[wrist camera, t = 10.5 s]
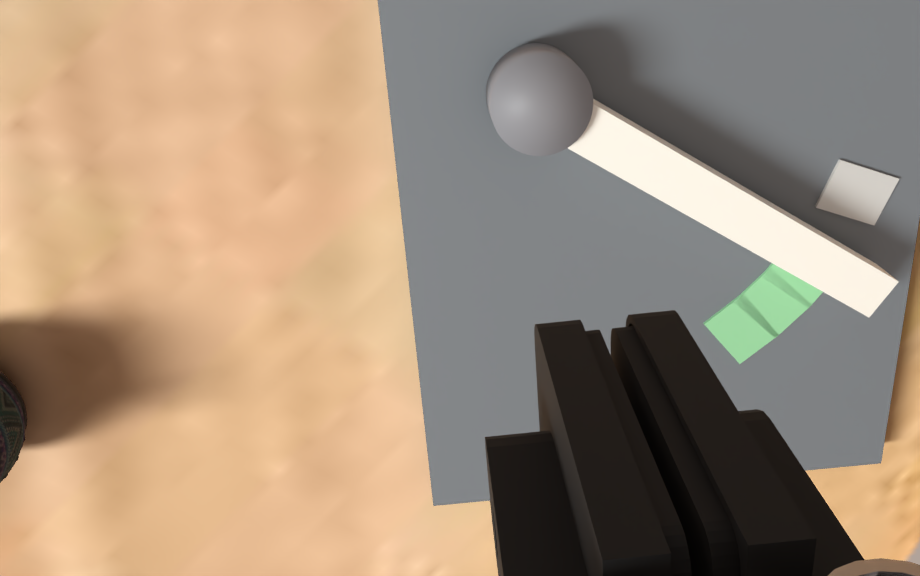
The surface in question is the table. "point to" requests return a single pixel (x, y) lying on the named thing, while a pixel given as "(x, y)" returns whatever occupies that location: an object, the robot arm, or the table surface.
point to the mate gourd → (10, 425)
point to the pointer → (666, 172)
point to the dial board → (656, 206)
